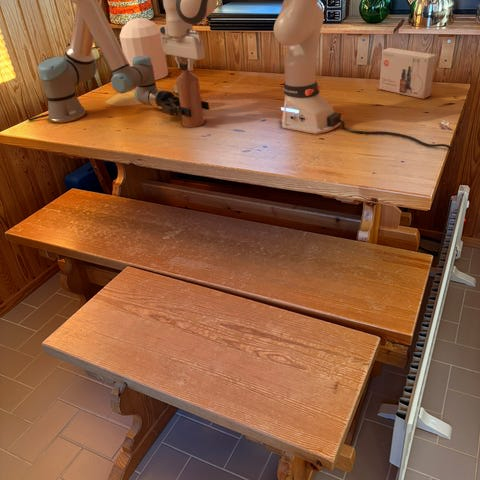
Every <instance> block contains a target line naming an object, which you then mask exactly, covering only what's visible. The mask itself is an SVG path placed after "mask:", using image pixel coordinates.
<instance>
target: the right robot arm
mask: <svg viewBox="0 0 480 480" xmlns="http://www.w3.org/2000/svg"><path fill="white" fill-rule="evenodd" d="M318 2H319V0H283V1H282V4H281V8H280V11H279V13H278V16H277V18H276V20H275V22H274V25H273V35H274V37H275V39H276V40H277V43H279V44H280V45H283V46H284V47H287V50H286V54H285V56H284V59H283V67H284V68H283V70H284V82H283V89H282V90H283V94H284V103H283V107H280V109H281V111H282V116H281V120H280V121H281V128H282V129H288V130H292V131H298V132H303V133H309V134H313V135H314V134H315V135H319V134H324V133H328V132H331V131H332V130H335V129H337V128H338V127H339V126H340V125H341V124H342V125H341V129H342V130H344V131H348V132H350V133H354V134H365V135H366V134H367V135H368V134H369V135H370V134H373V135H374V134H375V135H377V134H379V135H380V134H381V135H390V136H397V137H402V138H406V139H409V140H412V141H414V142H416V143H418V144H420V145H423V146H426V147H430V148H434V147H445V148H447V149H449V150H450V151H451V152H454V151H455V150H454V148H453V147H452V146H451V145H448V144H445V143H427V142H424V141H422V140H419V139H417V138H415V137H413V136H410V135H407V134H403V133H398V132H391V131H377V130H376V131H373V130H372V131H369V130H368V131H367V130H349V129H347V128H345V121H344V120H342V113H340V112H335V110H334V109H335V108H334V106H333V105H332V104H331V103H330V102H329V101H328V100H327V99H326V98H325V97H324V96H323V95H322V94H321V93H320V90H321V89H322V86H323V85H322V84H320V85H319V84H318V81H317V56H318V48H319V43H320V37H321V31H322V27H323V24H324V21H325V20H324V19H325V13H324V11H323V9H322V7H321V6H320V5H319V4H318ZM162 4H163V9H164V10H165V22H166V23H165V24H164V25H162V26H160V27H158V28H159V33H160V34H162V35H161V44H162V49H163V52H164V53H165V55H168V56H173V57H174V60H175V62H176V64H177V67H178V69H179V70H181V69H180V63H182V62H183V60H182V58H184V59H186V60H187V61H186V62H188V65H187V70H189V71H190V72H191V71H194V63H195V61H199V60H202V59H204V58H205V57H206V50H205V46H204V42H203V37H202V36H201V34H200V32H199V31H198V30H194V27H193V25H198V24H199V23H201V22H202V21H203V20H204V19H205V18H207V17H209V15H211V14H212V13H213V12H214V11H215V10H216V8H217V7H218V0H162ZM453 199H454V198H451V199H450V200H449V203H448V207H447V212H446V216H445V222H444V227H443V231H442V234H441V240H440V244H439V249H438V255H437V259H436V262H437V263H440V261H441V260H440V259H441V254H442V249H443V244H444V239H445V236H446V232H447V227H448V223H449V218H450V214H451V209H452V206H453V205H452V203H453Z"/></svg>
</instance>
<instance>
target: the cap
mask: <svg viewBox="0 0 480 480" xmlns="http://www.w3.org/2000/svg"><path fill="white" fill-rule="evenodd" d="M188 62H189V61H182V63H180V69H179V70H180V71H182V70H187V65H188Z"/></svg>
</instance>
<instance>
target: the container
mask: <svg viewBox="0 0 480 480" xmlns="http://www.w3.org/2000/svg"><path fill="white" fill-rule="evenodd" d="M159 28H160V27H159V26H158V25H157V24H156V23H155V22H154V21H152V20H150V19H148V18H144V17H136V18H132V19H129V20H128V21H127V22H126V23H125V24H124V25H123V26H122V28H121V31H120V33H119V41H120V46H121V48H122V50H123V52H124V55H125V57H126V59H127V61H128V63H129V65H130V66H133V61H132V60H133V58H134V57H137V56H149V57H150V58H151V62H152V65H153V71H154V77H155V81H157V80H161V79H163V78H165V77H168V75H169V68H168V64H167V57H166V54H165V53H164V52H163V49H162V44H161V35H162V34H160V33H159Z"/></svg>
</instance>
